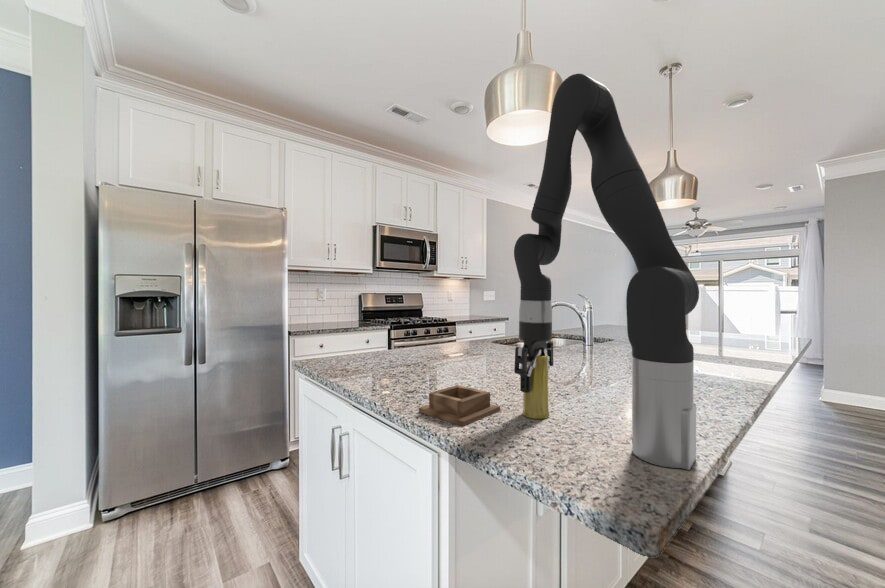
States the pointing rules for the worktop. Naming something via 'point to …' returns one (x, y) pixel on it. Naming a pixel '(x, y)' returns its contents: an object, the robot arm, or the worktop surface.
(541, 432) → the worktop surface
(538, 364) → the vase
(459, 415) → the socket block
